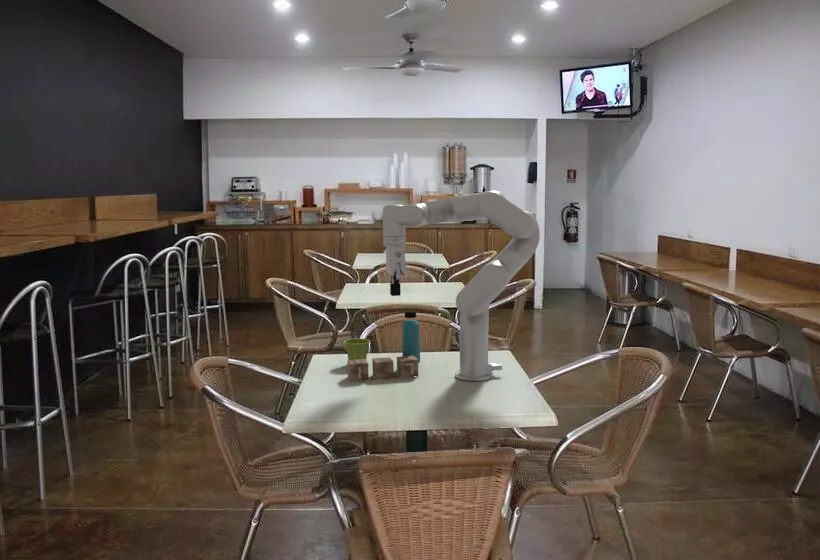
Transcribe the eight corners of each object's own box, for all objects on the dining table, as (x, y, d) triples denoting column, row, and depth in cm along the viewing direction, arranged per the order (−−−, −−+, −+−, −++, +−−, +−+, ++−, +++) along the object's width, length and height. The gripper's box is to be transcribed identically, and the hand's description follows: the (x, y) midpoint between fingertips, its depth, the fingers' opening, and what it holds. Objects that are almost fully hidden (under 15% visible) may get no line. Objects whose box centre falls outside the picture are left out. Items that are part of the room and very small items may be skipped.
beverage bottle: (423, 365, 255) (423, 310, 252) (414, 369, 249) (413, 313, 247) (408, 363, 258) (407, 308, 256) (398, 367, 253) (397, 311, 250)
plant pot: (358, 360, 264) (358, 337, 263) (375, 364, 257) (375, 340, 256) (339, 364, 257) (338, 341, 256) (356, 369, 251) (356, 345, 250)
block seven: (414, 372, 246) (413, 355, 245) (418, 377, 240) (418, 359, 239) (397, 373, 245) (396, 356, 244) (401, 378, 239) (400, 360, 238)
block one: (365, 376, 242) (365, 358, 241) (368, 380, 236) (368, 362, 235) (347, 377, 241) (347, 359, 240) (350, 382, 235) (350, 364, 234)
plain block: (389, 374, 244) (389, 357, 243) (393, 378, 238) (393, 361, 237) (372, 375, 243) (372, 358, 242) (376, 380, 237) (375, 362, 236)
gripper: (410, 242, 233) (411, 298, 236) (400, 239, 248) (401, 291, 250) (388, 243, 231) (389, 299, 234) (379, 240, 246) (380, 292, 248)
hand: (395, 295), depth 242 cm, fingers closed
